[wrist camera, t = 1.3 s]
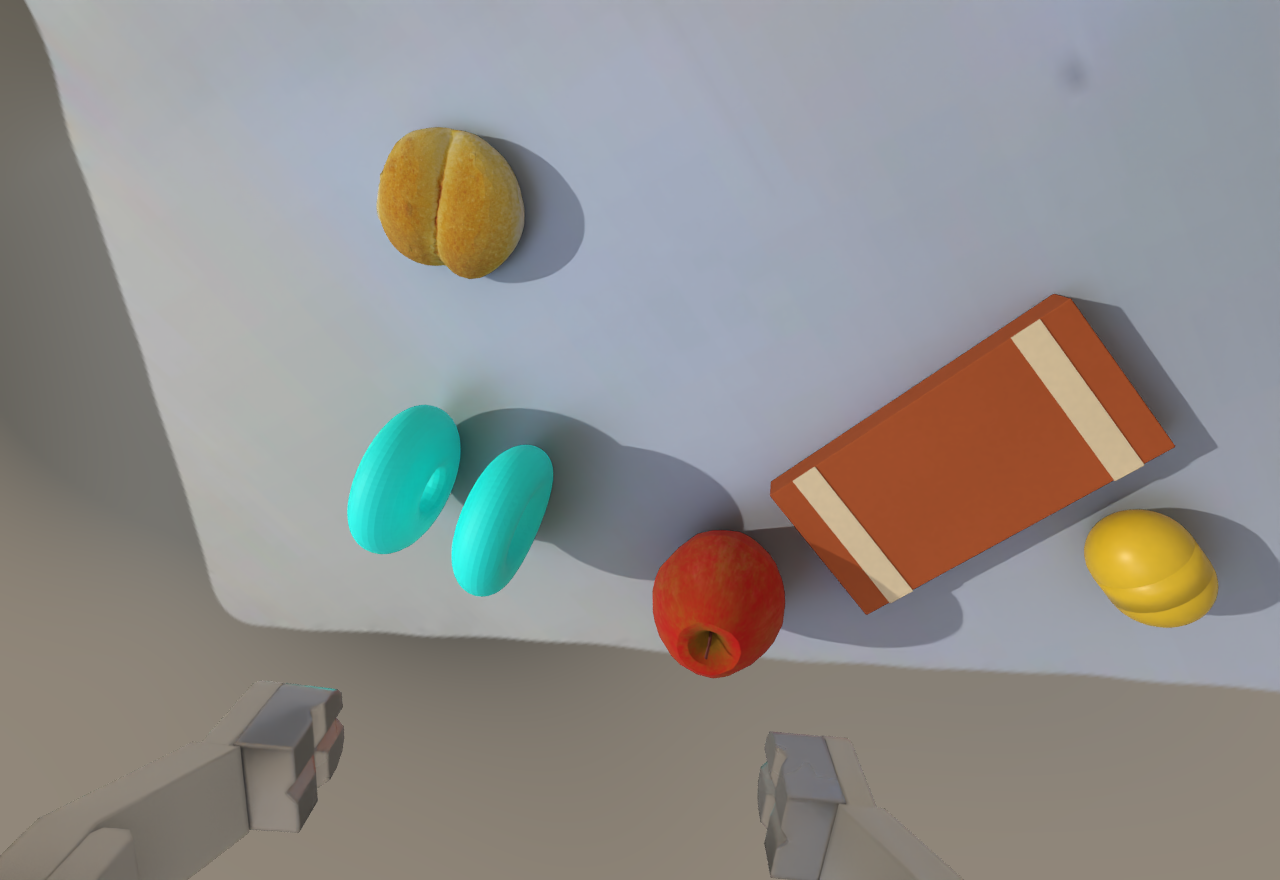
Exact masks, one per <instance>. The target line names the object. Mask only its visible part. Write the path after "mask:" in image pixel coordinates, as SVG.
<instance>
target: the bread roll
mask: <svg viewBox="0 0 1280 880" xmlns="http://www.w3.org/2000/svg"><path fill="white" fill-rule="evenodd" d="M377 214H378V218H379V220H380V221H381V223H382V226H383V229H384V231H385V233H386V235H387V237H388V238H389V240H390V242H391V243H392V244H393V246H394V247H395V248H396V249H397V250H398V251H399V252H400V253H402V254H403V255H404V256H406V257H408V258H409V259H411V260H413V261H415V262H417V263H421V264H425V265H433V266H439V265H446V266H447V267H448V268H449V269H450V270H451V271H452V272H454V273H455V274H457V275H458V276H461V277H465V278H468V279H474V278H480V277H483V276H485V275H487V274H489V273H491V272H492V271H494V270H495V269H496V268H498V267H499V266H500V265H501V264H502V263H503V262H504V261H505V260H506V259H507V258H508V257H509V255H510V254H511V253H512V252H513V250H514V249H515V247H516V246H517V244H518V242H519V240H520V238H521V235H522V231H523V227H524V204H523V200H522V195H521V190H520V187H519V184H518V181H517V179H516V177H515V175H514V173H513V171H512V169H511V167H510V166H509V164H508V163H507V161H506V160H505V159H504V157H503V156H502V155H501V154H500V153H499V152H498V151H497V150H496V149H494V148H493V147H492V146H491V145H489V144H488V142H486V141H485V140H483V139H481V138H480V137H478V136H477V135H475V134H472V133H469V132H466V131H461V130H454V129H450V128H441V127H434V128H426V129H420V130H416V131H412V132H410V133H408V134H407V135H405V136H404V137H403V138H401V139H400V140H399V141H398V142H397V143H396V144H395V146H394V147H393V150H392V151H391V153H390V154H389V156H388V159H387V161H386V164H385V165H384V169H383V171H382V173H381V174H380V184H379V190H378V199H377Z"/></svg>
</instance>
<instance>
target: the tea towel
mask: <svg viewBox="0 0 1280 880" xmlns="http://www.w3.org/2000/svg"><path fill="white" fill-rule="evenodd" d="M1174 447H1175V445H1174V444H1173V442H1172V441H1171V439H1170V438H1169V436H1168V435H1167V434H1166V432H1165V431H1164V429H1163V428H1162V427H1161V425H1160V424H1159V422H1158V421H1157V419H1156V418H1155V417H1154V415H1153V414H1152V412H1151V411H1150V410H1149V408H1148V407H1147V405H1146V404H1145V403H1144V401H1143V400H1142V398H1141V397H1140V395H1139V394H1138V393H1137V391H1136V390H1135V388H1134V387H1133V386H1132V384H1131V383H1130V381H1129V380H1128V378H1127V377H1126V376H1125V374H1124V373H1123V371H1122V370H1121V369H1120V367H1119V366H1118V364H1117V363H1116V362H1115V360H1114V359H1113V357H1112V356H1111V354H1110V353H1109V352H1108V350H1107V349H1106V347H1105V346H1104V345H1103V343H1102V342H1101V340H1100V339H1099V337H1098V336H1097V335H1096V333H1095V332H1094V330H1093V329H1092V328H1091V326H1090V325H1089V323H1088V322H1087V320H1086V319H1085V318H1084V316H1083V315H1082V313H1081V312H1080V311H1079V309H1078V308H1077V306H1076V305H1075V304H1074V302H1073V301H1072V299H1070V298H1067V297H1063V296H1060V295H1056V294H1053V295H1051V296H1050V297H1048V298H1047V299H1045V300H1044V301H1042V302H1041V303H1039V304H1038V305H1036V306H1035V307H1033V308H1031V309H1030V310H1028V311H1027V312H1025V313H1024V314H1022V315H1021V316H1019V317H1018V318H1016V319H1015V320H1013V321H1012V322H1010V323H1009V324H1007V325H1006V326H1004V327H1003V328H1001V329H1000V330H998V331H997V332H995V333H994V334H992V335H991V336H989V337H988V338H986V339H985V340H983V341H982V342H980V343H979V344H977V345H976V346H974V347H973V348H971V349H970V350H968V351H967V352H965V353H964V354H962V355H961V356H959V357H958V358H956V359H955V360H953V361H952V362H950V363H949V364H947V365H946V366H944V367H943V368H941V369H940V370H938V371H937V372H935V373H934V374H932V375H931V376H929V377H928V378H926V379H925V380H923V381H922V382H920V383H919V384H917V385H916V386H914V387H913V388H911V389H910V390H908V391H907V392H905V393H904V394H902V395H901V396H899V397H898V398H896V399H895V400H893V401H892V402H890V403H889V404H887V405H886V406H884V407H883V408H881V409H880V410H878V411H877V412H875V413H874V414H872V415H871V416H869V417H868V418H866V419H864V420H863V421H861V422H860V423H858V424H857V425H855V426H854V427H852V428H851V429H849V430H848V431H846V432H845V433H843V434H842V435H840V436H839V437H837V438H836V439H834V440H833V441H831V442H830V443H828V444H827V445H825V446H824V447H822V448H821V449H819V450H818V451H816V452H815V453H813V454H812V455H810V456H809V457H807V458H806V459H804V460H803V461H801V462H800V463H798V464H797V465H795V466H794V467H792V468H791V469H789V470H788V471H786V472H785V473H783V474H782V475H780V476H779V477H777V478H776V479H774V480H773V481H771V490H770V496H771V498H772V499H773V500H774V501H775V503H776V504H777V505H778V506H779V508H780V509H781V510H782V511H783V513H784V514H785V515H786V516H787V518H788V519H789V520H790V521H791V522H792V524H793V525H794V526H795V527H796V529H797V530H798V531H799V532H800V534H801V535H802V536H803V537H804V539H805V540H806V541H807V542H808V544H809V545H810V546H811V547H812V548H813V550H814V551H815V552H816V553H817V555H818V556H819V557H820V558H821V560H822V561H823V562H824V563H825V565H826V566H827V567H828V568H829V570H830V571H831V572H832V573H833V574H834V576H835V577H836V578H837V579H838V581H839V582H840V583H841V584H842V586H843V587H844V588H845V589H846V591H847V592H848V593H849V594H850V596H851V597H852V598H853V599H854V600H855V602H856V603H857V604H858V605H859V607H860V608H861V609H862V610H863V612H864V613H865V614H866V615H867V614H869V613H871V612H873V611H875V610H877V609H878V608H880V607H882V606H884V605H886V604H888V603H892V602H894V601H896V600H898V599H899V598H901V597H903V596H905V595H907V594H909V593H910V592H912V591H913V589H915V588H917V587H919V586H921V585H922V584H924V583H926V582H928V581H930V580H932V579H933V578H935V577H937V576H939V575H941V574H943V573H944V572H946V571H948V570H950V569H952V568H954V567H955V566H957V565H959V564H961V563H963V562H965V561H967V560H968V559H970V558H972V557H974V556H976V555H978V554H979V553H981V552H983V551H985V550H987V549H989V548H990V547H992V546H994V545H996V544H998V543H1000V542H1001V541H1003V540H1005V539H1007V538H1009V537H1011V536H1012V535H1014V534H1016V533H1018V532H1020V531H1022V530H1023V529H1025V528H1027V527H1029V526H1031V525H1033V524H1034V523H1036V522H1038V521H1040V520H1042V519H1044V518H1045V517H1047V516H1049V515H1051V514H1053V513H1055V512H1057V511H1058V510H1060V509H1062V508H1064V507H1066V506H1068V505H1069V504H1071V503H1073V502H1075V501H1077V500H1079V499H1080V498H1082V497H1084V496H1086V495H1088V494H1090V493H1091V492H1093V491H1095V490H1097V489H1099V488H1101V487H1102V486H1104V485H1106V484H1108V483H1110V482H1112V481H1113V480H1114V481H1116V480H1118V479H1120V478H1122V477H1124V476H1126V475H1128V474H1129V473H1131V472H1133V471H1135V470H1137V469H1139V468H1140V467H1142V466H1144V464H1145V463H1147V462H1148V461H1150V460H1152V459H1154V458H1156V457H1158V456H1159V455H1161V454H1163V453H1165V452H1167V451H1169V450H1170V449H1172V448H1174Z"/></svg>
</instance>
